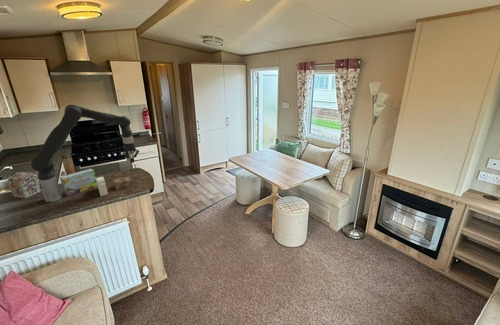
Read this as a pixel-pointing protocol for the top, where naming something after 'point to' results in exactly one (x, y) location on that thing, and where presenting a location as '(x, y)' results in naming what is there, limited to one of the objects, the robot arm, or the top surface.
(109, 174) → the top surface
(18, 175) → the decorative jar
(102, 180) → the cream rectangular block
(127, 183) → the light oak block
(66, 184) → the snack box
